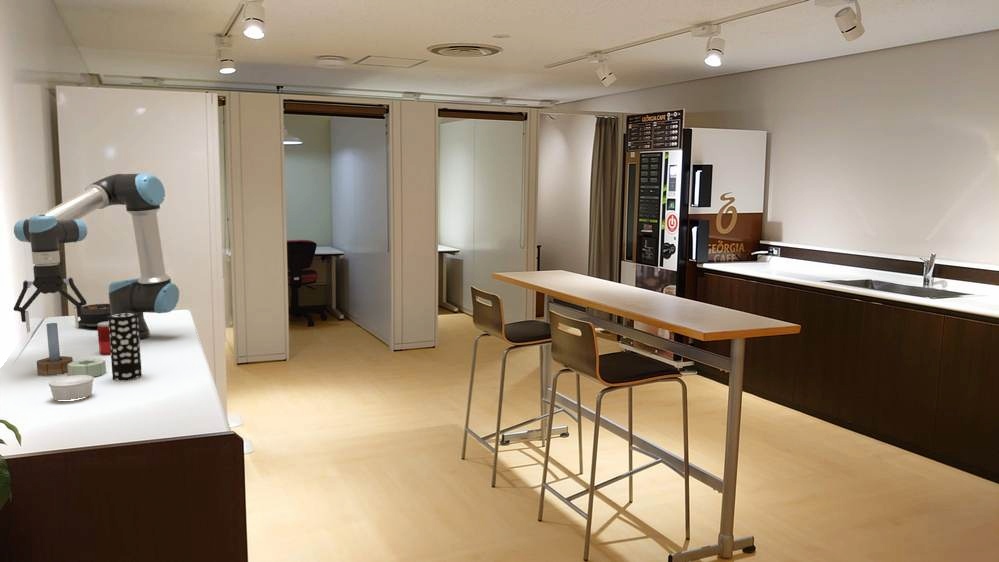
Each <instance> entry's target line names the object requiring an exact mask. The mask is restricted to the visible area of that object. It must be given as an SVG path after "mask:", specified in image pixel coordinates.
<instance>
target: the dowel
mask: <svg viewBox="0 0 999 562" xmlns="http://www.w3.org/2000/svg"><path fill="white" fill-rule="evenodd" d="M46 335H47V336H46V337H47V346H48V348H47V349H48V357H49V361H50V362H54V361H60V356H61V353H60V342H59V341H60V340H59V327H58V323H57V322H49V323H46Z"/></svg>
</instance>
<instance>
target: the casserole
mask: <svg viewBox="0 0 999 562" xmlns="http://www.w3.org/2000/svg"><path fill="white" fill-rule="evenodd" d="M109 315H111V314H110V303H98V304H97V303H95V304H88V305H87V304H86V305H83V306H82V307H81V317H79V318H80V320H79V319H78V326H84V327H85V326H86V328H91V327H97V325H98V323H101V322H107V321H108V316H109Z"/></svg>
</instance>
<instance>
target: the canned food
mask: <svg viewBox="0 0 999 562" xmlns="http://www.w3.org/2000/svg"><path fill="white" fill-rule="evenodd" d="M97 327H98V328H97V338H98V339H97V340H98V350H99V354H100V355H103V356H111V350H110V336H109V322H108V321H107V322H101V323H98V325H97Z"/></svg>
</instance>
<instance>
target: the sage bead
mask: <svg viewBox="0 0 999 562" xmlns="http://www.w3.org/2000/svg"><path fill="white" fill-rule="evenodd" d="M67 366H68V373H67V375H68V376H75V375H89V376H92V377H93V378H95V376H97V377H101V376H100V375H102V376H103V375H105V374H106V373H107V367H106V366H107V363H106V360H105V359H102V358H84V359H79V360H73V362H71V363H69V364H67ZM104 373H105V374H104Z"/></svg>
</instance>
